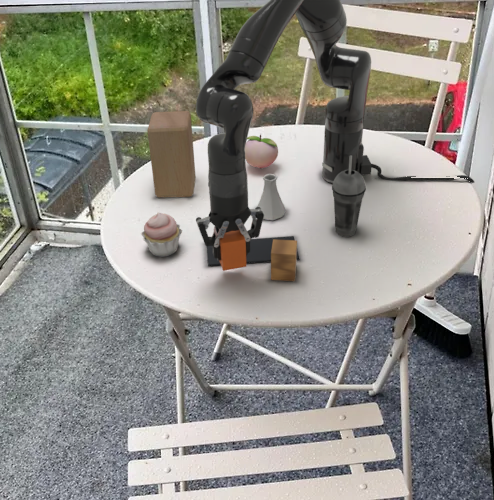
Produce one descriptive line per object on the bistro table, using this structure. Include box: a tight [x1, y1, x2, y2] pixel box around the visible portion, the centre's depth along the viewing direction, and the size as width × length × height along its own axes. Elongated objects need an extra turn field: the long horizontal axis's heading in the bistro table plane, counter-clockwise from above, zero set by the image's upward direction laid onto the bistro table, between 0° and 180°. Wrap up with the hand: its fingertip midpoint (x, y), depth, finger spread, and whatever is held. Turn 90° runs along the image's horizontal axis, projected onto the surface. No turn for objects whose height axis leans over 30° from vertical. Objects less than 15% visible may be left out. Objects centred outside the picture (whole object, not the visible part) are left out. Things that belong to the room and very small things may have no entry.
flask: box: [256, 173, 287, 221], centre depth 156 cm, size 7×7×10 cm
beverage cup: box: [331, 155, 367, 238], centre depth 145 cm, size 7×7×20 cm
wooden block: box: [146, 110, 197, 198], centre depth 167 cm, size 10×10×20 cm
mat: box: [206, 235, 301, 267], centre depth 147 cm, size 20×8×1 cm, turn 90°
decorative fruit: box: [245, 134, 279, 169], centre depth 174 cm, size 9×8×10 cm
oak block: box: [270, 239, 298, 282], centre depth 138 cm, size 5×5×7 cm
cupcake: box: [140, 211, 183, 258], centre depth 148 cm, size 9×9×10 cm
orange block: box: [220, 230, 247, 272], centre depth 136 cm, size 5×5×7 cm
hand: (231, 255), depth 137 cm, fingers closed on orange block, 5 cm apart
